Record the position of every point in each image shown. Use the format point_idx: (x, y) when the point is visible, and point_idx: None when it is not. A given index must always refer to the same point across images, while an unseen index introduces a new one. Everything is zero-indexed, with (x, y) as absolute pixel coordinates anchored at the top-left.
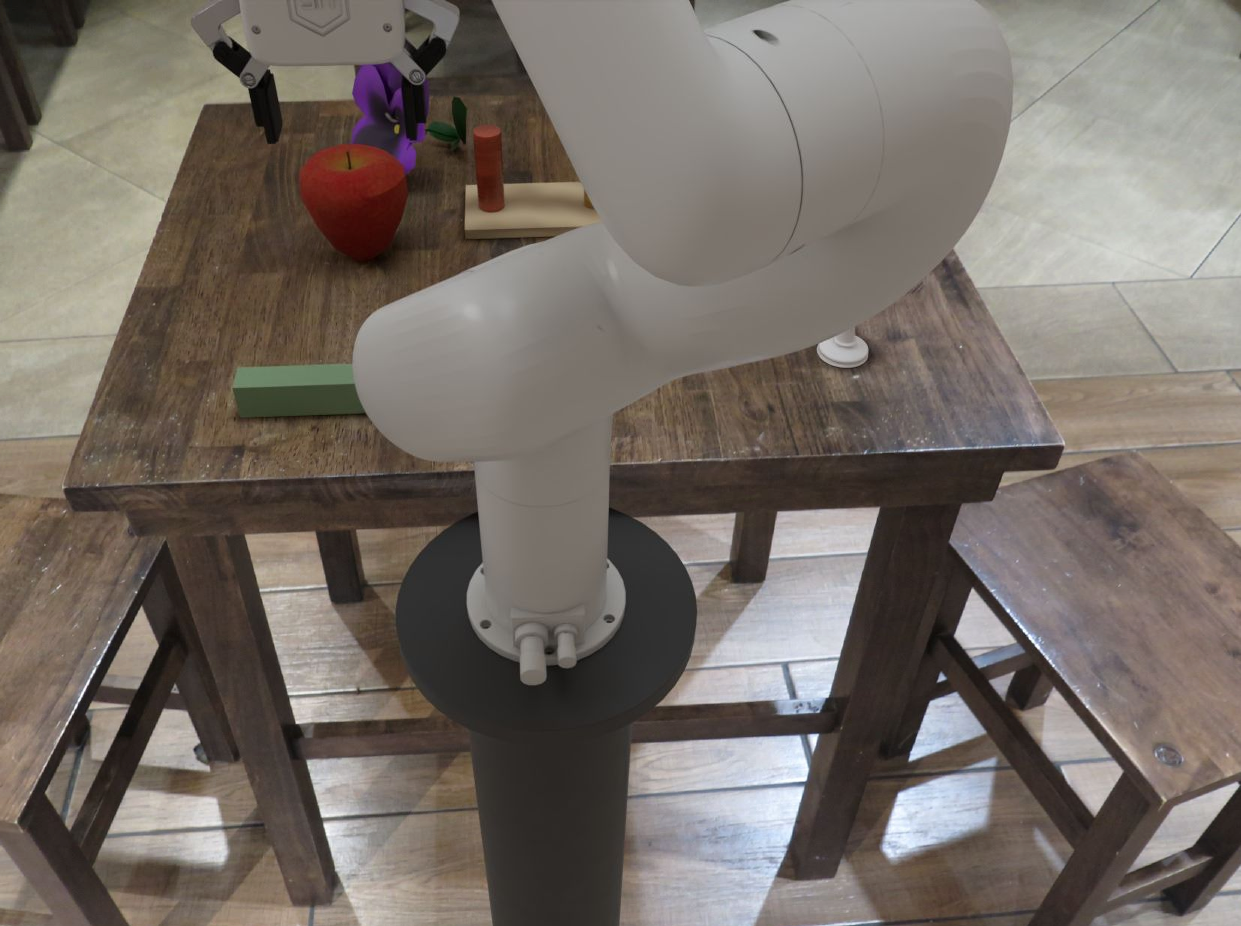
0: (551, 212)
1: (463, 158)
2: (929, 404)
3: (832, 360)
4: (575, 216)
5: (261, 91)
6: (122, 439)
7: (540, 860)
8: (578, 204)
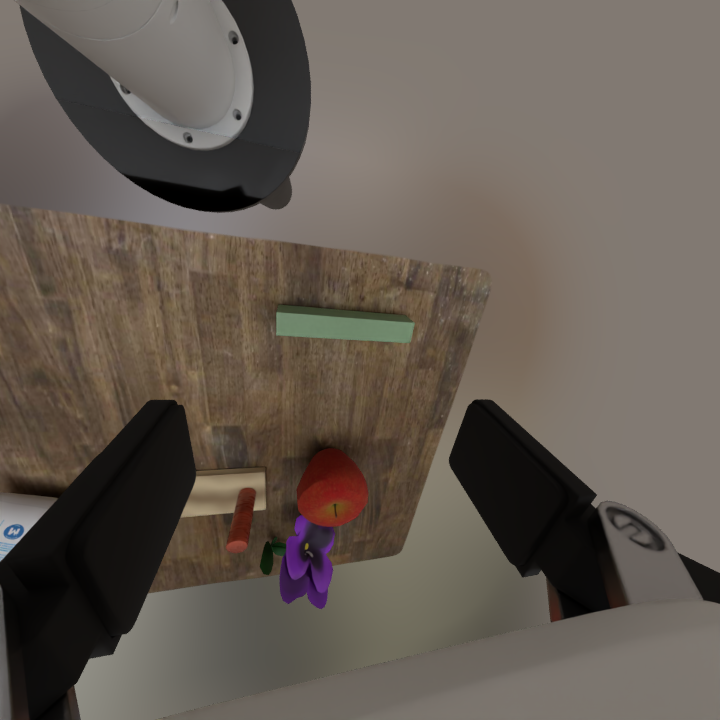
0: (204, 489)
1: (269, 531)
2: None
3: None
4: None
5: (579, 492)
6: (469, 305)
7: None
8: None
